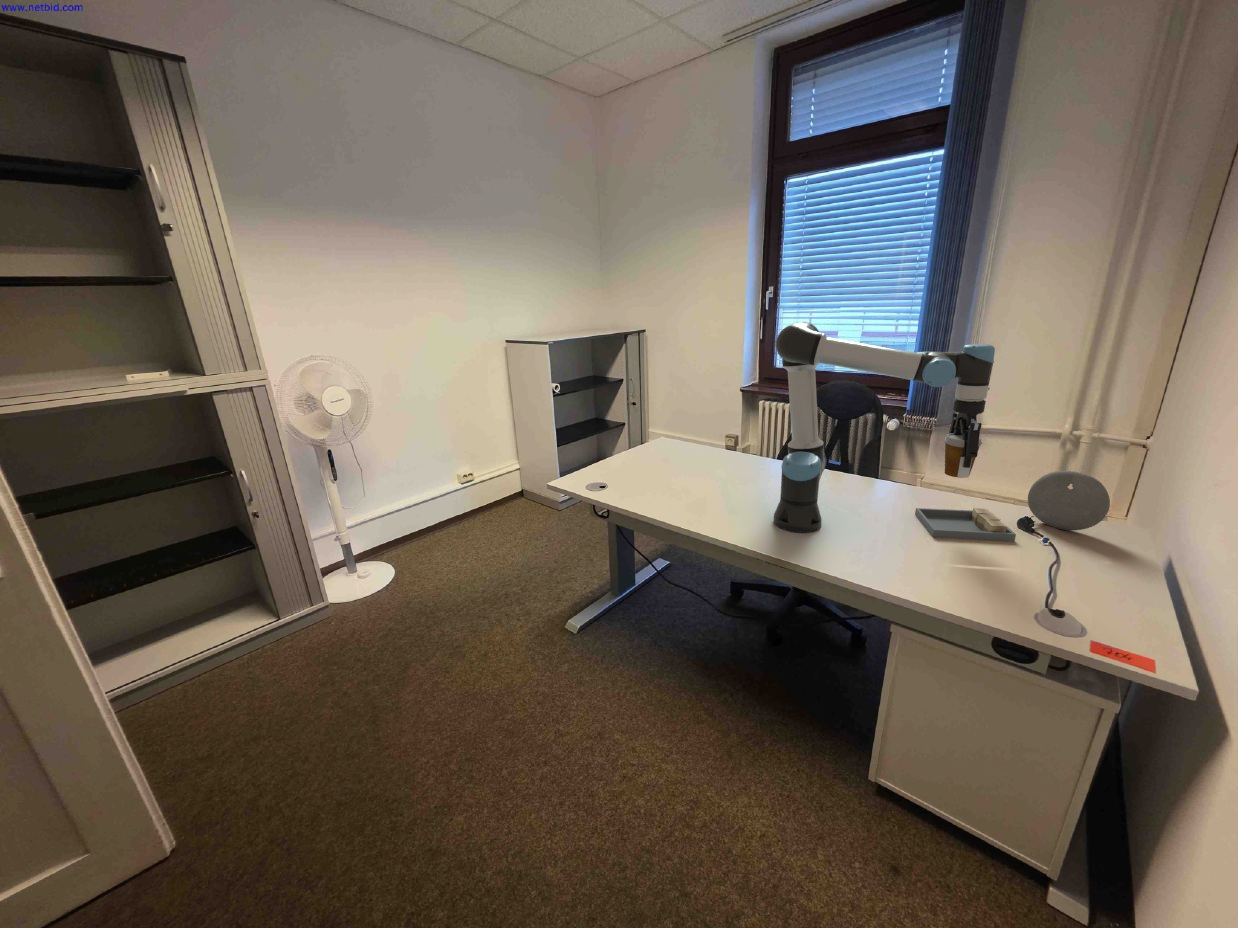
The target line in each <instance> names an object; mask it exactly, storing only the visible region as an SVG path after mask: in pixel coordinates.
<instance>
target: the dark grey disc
mask: <svg viewBox="0 0 1238 928" xmlns="http://www.w3.org/2000/svg"><path fill="white" fill-rule="evenodd" d="M1070 485H1071V486H1072V488H1069V487H1070ZM1110 499H1111V498H1110V496H1109V493H1108V490H1107V488H1106V487H1105V486H1104V485H1103V483H1102V482H1100V480H1098V479H1097V478H1095V477H1093V476H1091V475H1089V474H1086V473H1082V472H1078V471H1071V470H1059V471H1057V470H1056V471H1052V472H1048V473H1046V474H1044V475H1043V476H1041V477H1039V478H1038V479H1037V480H1036V481H1034V483H1033V484H1032V485H1031V487H1030V489H1029V491H1028V493H1027V504H1028V508H1029V510H1030V512H1031V514H1033V516H1035V518H1036V519H1038V520H1039V521H1040V522H1042V523H1043V524H1045V525H1047V526H1049V527H1052V528H1055V529H1059V530H1061V531H1062V530H1063V531H1081V530H1087V529H1089V528H1092V527H1095V526H1097V525H1098V524H1099V523H1101V522H1102V521H1103V520H1104V519H1105V518H1106V516H1107V515H1108V512H1109V511H1110V507H1111V505H1110V504H1111V500H1110Z"/></svg>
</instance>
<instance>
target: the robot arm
mask: <svg viewBox="0 0 1238 928" xmlns="http://www.w3.org/2000/svg"><path fill="white" fill-rule="evenodd" d="M775 350H776V352H777V355H779V357H780V358H781V360H782V368H784V369H785V370H786V371H787V381H788V396H789V397H788V398H789V413H790V428H791V440H790V441H789V442H788V443H787V454H786V455H785V456H784V457H783V459H782V463H781V482H780V483H781V484H780V496H779V497H780V499H779V502H778V505H777V507H776V509H775V511H774V513H773V523H774V525H775V526H777V527H778V528H780V529H782V530H783V531H784V530H785V531H787V532H793V533H801V534H802V533H812V532H815V531H818V530H819V529H820V528H821V527H822V520H823V519H822V516H821V512H820V508H819V505H818V499H819V487H820V481H821V479H822V475H823V473H824V471H825V469H826V466H827V457H826V454H825V447H824V441H823V440H822V439H821V438H820V437H819V423H818V421H819V420H818V402H817V401H818V399H817V398H818V397H817V382H816V381H817V380H816V368H817V366H818V365H820V364H823V365H829V366H834V367H839V368H844V369H849V370H855V371H861V372H866V373H870V374H877V375H881V376H882V375H883V376H887V377H888V376H889V377H893V378H898V379H904V380H909V381H914V382H917V383H918V382H919V383H924V384H927V385H928V386H930V387H934V388H941V387H946V386H947V385H949V384H950V383H951V382H952V381H954V379H957V383H956V388H955V394H954V396H955V399H954V402H953V407H952V411H954V412H953V413H952V419H951V423H950V428H949V431H948V434H950V433H954V435H963V440H965V441H964V447H963V455H960V457H961V459H960V464H959V470H958V475H957V477H956V478H958V477H965V478H968V479H969V478H970V475H969V473H970V474H971V472H970V468H971V463H972V457H976V458H977V457H978V453H979V450H978V445H979V437H980V436H981V435H980V433H981V429H982V426H983V425H982V423H981V422H978V420H977V419H978V418H977V416H978V415H980V414H983V413H984V412H985V407H986V402H987V401H986V398H988V397H987V396H988V391H990V387H989V386H990V385H989V384H990V381H991V376H992V372H993V367H994V362H995V360H994V359H995V351H996V348H995V347H994V345H991V344H986V343H979V344H978V343H972V344H971V343H970V344H965V345H964V346H963V348H962V350H961V351H930V350H929V351H918V352H914V351H908V350H903V349H896V348H890V347H885V346H878V345H874V344H868V343H861V342H855V341H849V340H843V339H837V338H834V337H833V338H832V337H827V335H826V333H824V332H820V331H819V329H818V328H817V327H816V326H815V325H814V324H813V323H810V322H806V321H798V322H794V323H792V324H790V325H787V326H785V327H784V328H783V329H782V330H780V332H779V333H778V335H777V337H776V340H775Z"/></svg>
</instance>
